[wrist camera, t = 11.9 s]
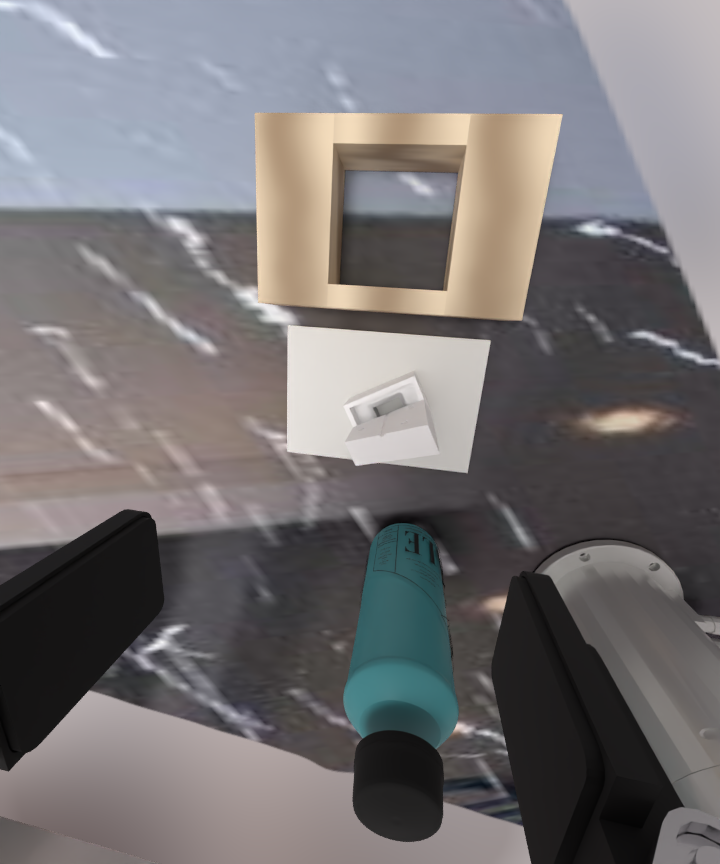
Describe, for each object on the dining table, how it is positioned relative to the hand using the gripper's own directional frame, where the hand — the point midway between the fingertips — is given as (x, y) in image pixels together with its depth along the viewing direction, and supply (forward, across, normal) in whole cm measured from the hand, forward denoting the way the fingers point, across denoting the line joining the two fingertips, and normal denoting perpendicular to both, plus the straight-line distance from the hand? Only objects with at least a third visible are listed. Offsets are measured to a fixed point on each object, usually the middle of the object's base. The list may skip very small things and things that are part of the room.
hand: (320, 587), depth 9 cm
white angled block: (+22, 0, 0) cm, 22 cm away
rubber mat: (+22, +1, -1) cm, 22 cm away
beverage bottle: (+22, -3, +13) cm, 26 cm away
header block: (+22, +1, -13) cm, 26 cm away
